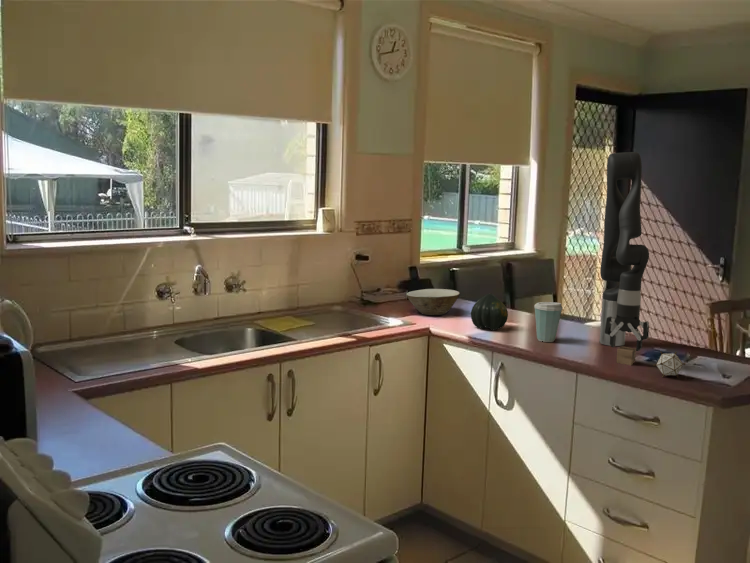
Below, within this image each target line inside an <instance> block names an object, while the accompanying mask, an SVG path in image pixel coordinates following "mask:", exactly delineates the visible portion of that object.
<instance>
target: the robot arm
mask: <svg viewBox="0 0 750 563" xmlns="http://www.w3.org/2000/svg"><path fill="white" fill-rule="evenodd" d="M641 158H642V157H641V154H640V153H639V152H637V151H629V152H628V151H627V152H625V151H624V152H614V153H610V154H609V155H608V158H607V162H606V201H605V208H604V210H605V211H604V220H603V221H604V223H603V225H604V226H603V248H602V252H601V253H602V255H601V262H600V271H599V272H600V278H601V280H602V281H605V282H615V283H619V285H617V286H615V287H612V288H609V289H605V290H604V291H603V292H602V302H601V316H600V329H599V343H600V344H601V345H605V346H610V348H615V347H621V346H623V347H624V346H625V344H626V332H627V333H632V334H633V335H634V336H635V338H636V339H637V340H636V347H635V348H636V352H639V351H641V350H642V349H643V341H644V340H647V339H648V338H649V337H650V334H649V333H650V331H649V330H650V322H649V321H648V320H646V321H642V320H640V314H641V304H642V303H641V302H642V293H641V292H642V279H643V277H644V276H643V275H644V272H645V271H646V267H647V265H648V263H649V260H650V251H649V248H648V247H647V246H646V245H645V244H630V240H633V239H637V238H640V237H641V235H642V234H643V231H642V220H641V217H642V216H641V196H642V195H641V194H642V173H643V172H642V171H643V170H642V169H643V168H642V167H643V166H642V159H641ZM618 180H631V185H630V189H629V192H628V195H627V196H626V198H624V197H623V195H622V193H621V192H620V189H619V187H618V183H617V182H618ZM616 247H617V248H616ZM615 250H616V253H615V256H613V253H614V251H615ZM638 327H641V328H642V333H641V331H640V329H639V328H638Z"/></svg>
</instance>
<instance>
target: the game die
mask: <svg viewBox="0 0 750 563" xmlns="http://www.w3.org/2000/svg"><path fill="white" fill-rule="evenodd" d="M660 354H661V355H660V356H659V359H658V361H657V362H656V364H655V363H654V364H653V366H656V367H657V369H658V370H659V371H660V373H661V374H662V376H661V377H662V378H664V377H665V376H676V378H679V375H678V374H679V373H680V371H681V370H682V367H683V366H685V365H686V363H685V362H682V361H681V359H680V357H679V356H678V355H677V351H675V352H674V353H663V351H660Z"/></svg>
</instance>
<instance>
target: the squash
mask: <svg viewBox="0 0 750 563" xmlns="http://www.w3.org/2000/svg"><path fill="white" fill-rule="evenodd" d="M508 317H509V312H508V309H507V306H506V305H505V304H504V302H502V301H501V300H500V299H499V298H498V297H497V296H495V294H493V293H492V292H490V293H487V294H485V295H484V296H482V297H480V298H479V299H478V300H477V301H475V303H474V304H473V306H472V308H471V310H470V318H471V322H472V324H473V325H474V327H475V328H478V329H485V328H487V329H489V330H491V331H496V330H499V329H502V328H503V327H505V325H506V323H507V322H508V319H509V318H508Z"/></svg>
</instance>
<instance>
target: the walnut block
mask: <svg viewBox="0 0 750 563" xmlns="http://www.w3.org/2000/svg"><path fill="white" fill-rule="evenodd" d="M616 350H617V351H616V364H619V363H620V364H621V365H625V364H626V365H627V366H632V365H634V364H635V363H634V361H635V362H636V356H637V355H636V354H637V351H636V347H635V348H633V347H628V346H624V345H623V346H619V347H618V348H617V349H616ZM633 363H634V364H633ZM626 365H625V366H626Z"/></svg>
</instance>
